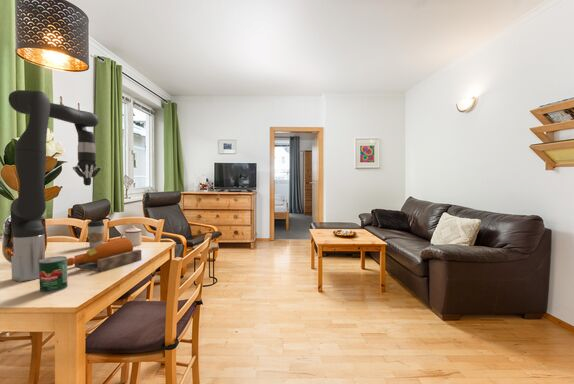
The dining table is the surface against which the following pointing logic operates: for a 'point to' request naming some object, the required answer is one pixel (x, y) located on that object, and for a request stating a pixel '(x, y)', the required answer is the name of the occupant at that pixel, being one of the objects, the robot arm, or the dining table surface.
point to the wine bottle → (103, 251)
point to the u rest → (111, 261)
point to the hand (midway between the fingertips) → (87, 185)
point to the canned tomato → (53, 274)
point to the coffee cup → (95, 233)
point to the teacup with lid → (133, 236)
